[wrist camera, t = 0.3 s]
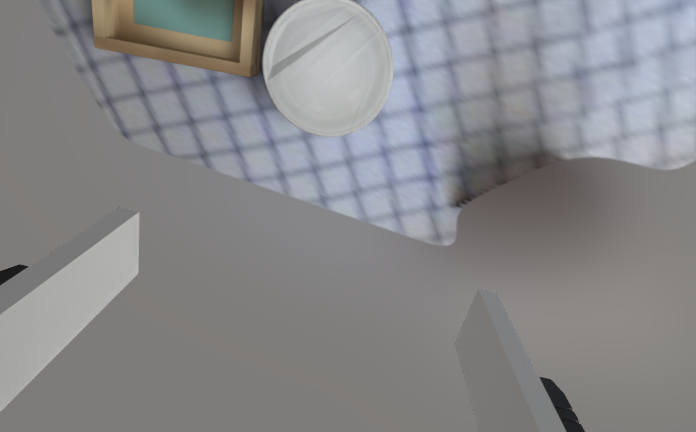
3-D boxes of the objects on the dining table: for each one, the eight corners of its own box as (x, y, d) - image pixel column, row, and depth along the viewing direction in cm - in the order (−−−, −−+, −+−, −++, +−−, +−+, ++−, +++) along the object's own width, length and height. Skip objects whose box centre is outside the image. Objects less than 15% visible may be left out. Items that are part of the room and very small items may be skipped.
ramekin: (302, -23, 36) (291, -34, 31) (412, 36, 37) (419, 35, 32) (258, 94, 40) (242, 101, 35) (359, 144, 41) (357, 157, 36)
